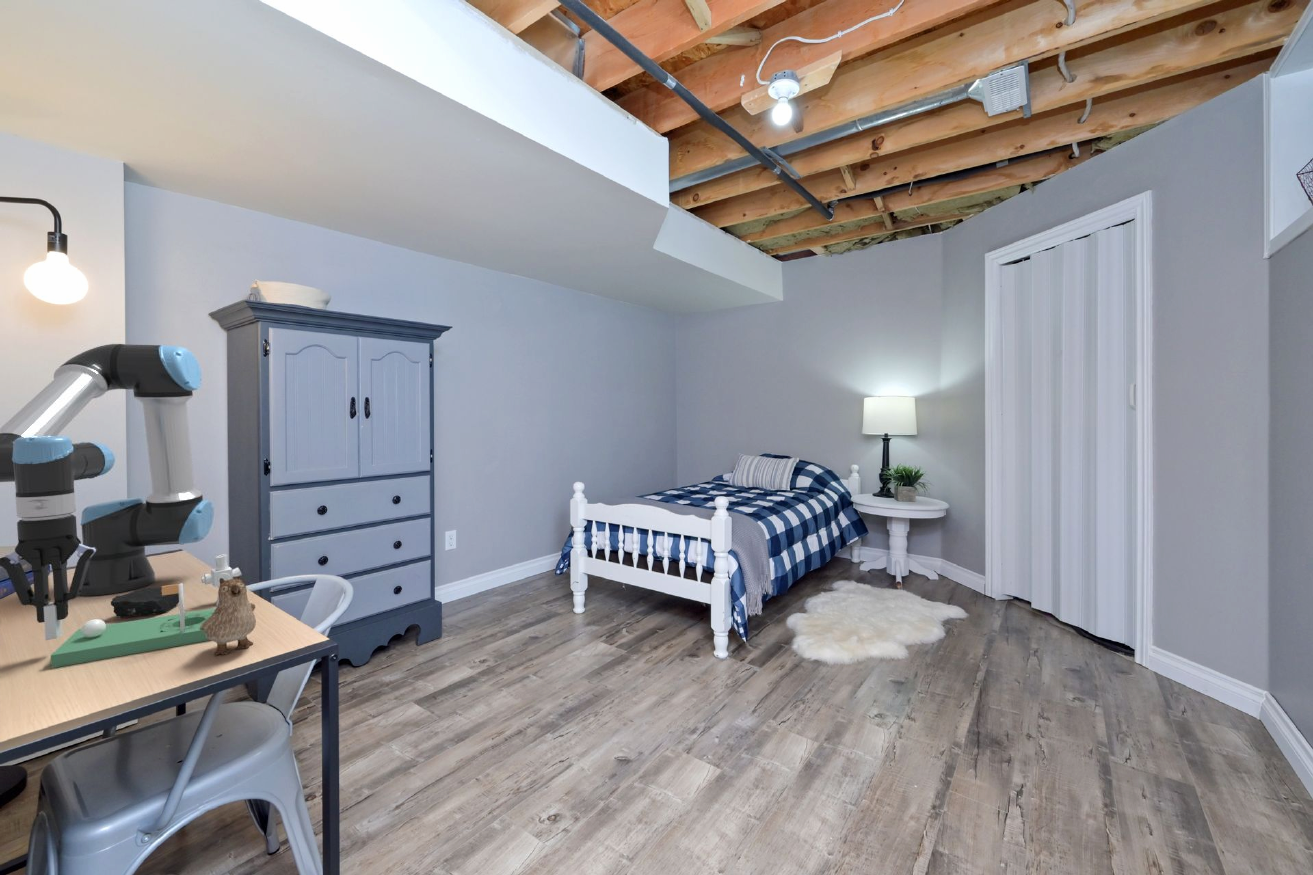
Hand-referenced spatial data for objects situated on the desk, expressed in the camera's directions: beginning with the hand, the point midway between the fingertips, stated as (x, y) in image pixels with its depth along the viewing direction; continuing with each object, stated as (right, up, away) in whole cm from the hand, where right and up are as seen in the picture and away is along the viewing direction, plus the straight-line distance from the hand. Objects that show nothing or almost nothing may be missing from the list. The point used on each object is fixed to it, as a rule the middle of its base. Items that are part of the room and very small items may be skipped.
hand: (54, 636), depth 105 cm
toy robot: (+10, -2, +29) cm, 30 cm away
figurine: (+32, -4, +3) cm, 32 cm away
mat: (+11, -3, +7) cm, 14 cm away
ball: (+5, +1, +3) cm, 6 cm away
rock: (-2, -3, +22) cm, 22 cm away
